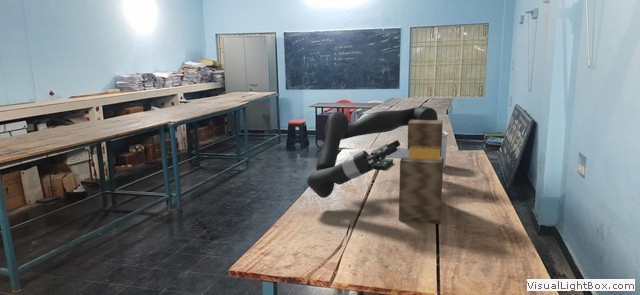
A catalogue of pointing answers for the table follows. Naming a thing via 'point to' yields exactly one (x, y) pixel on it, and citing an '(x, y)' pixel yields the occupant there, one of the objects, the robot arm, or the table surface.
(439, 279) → the table surface
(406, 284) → the table surface
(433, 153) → the bar
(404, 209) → the zigzag patterned block
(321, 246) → the table surface
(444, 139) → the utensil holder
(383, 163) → the disk drive
